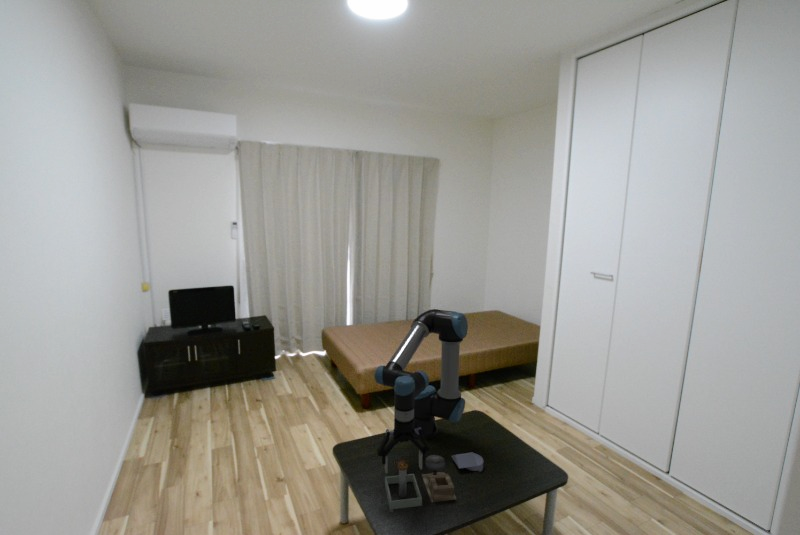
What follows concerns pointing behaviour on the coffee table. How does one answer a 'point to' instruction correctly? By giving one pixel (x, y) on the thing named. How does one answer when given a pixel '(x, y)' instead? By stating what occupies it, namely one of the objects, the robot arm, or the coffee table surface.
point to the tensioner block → (438, 480)
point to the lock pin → (402, 477)
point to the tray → (403, 502)
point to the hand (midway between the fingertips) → (403, 469)
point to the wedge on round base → (469, 461)
